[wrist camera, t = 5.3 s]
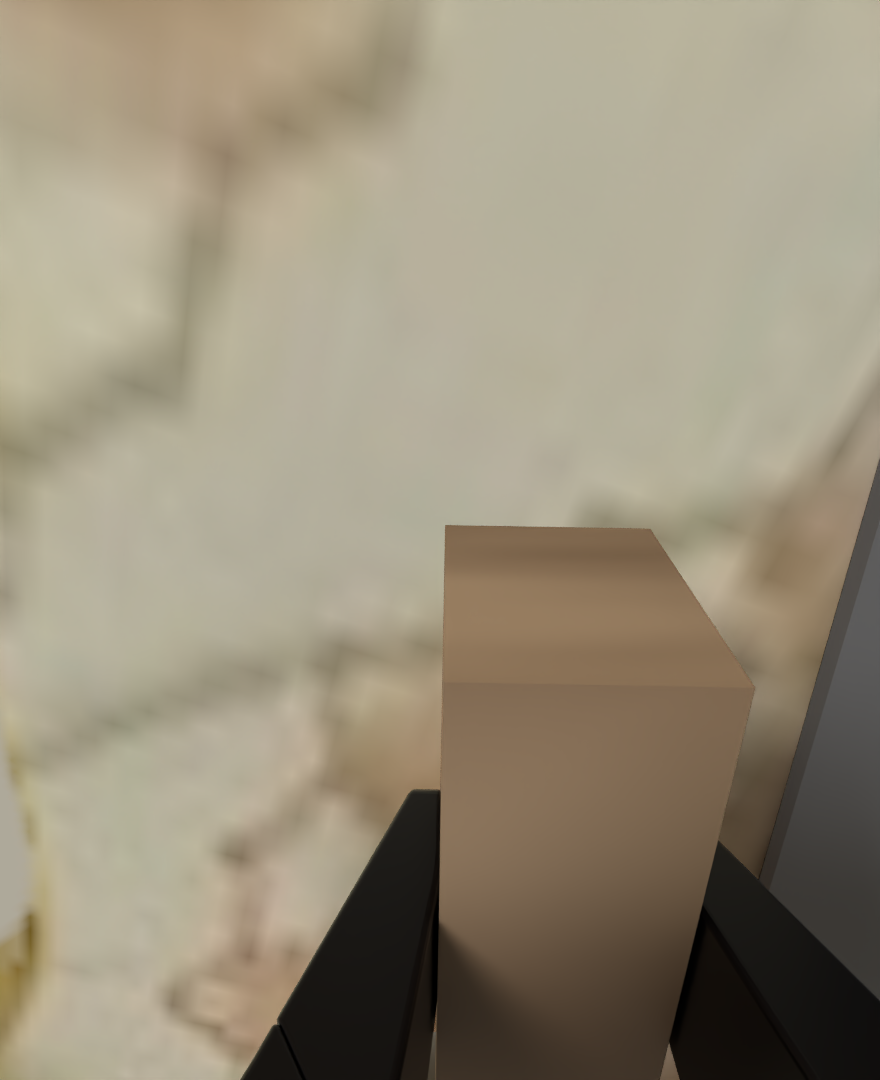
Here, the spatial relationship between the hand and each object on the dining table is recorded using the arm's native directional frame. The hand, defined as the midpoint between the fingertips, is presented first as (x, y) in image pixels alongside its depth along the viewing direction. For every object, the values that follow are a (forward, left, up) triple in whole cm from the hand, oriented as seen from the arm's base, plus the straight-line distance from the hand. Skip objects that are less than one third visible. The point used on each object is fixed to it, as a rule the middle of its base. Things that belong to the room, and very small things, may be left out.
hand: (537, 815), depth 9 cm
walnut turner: (-3, 0, -1) cm, 4 cm away
